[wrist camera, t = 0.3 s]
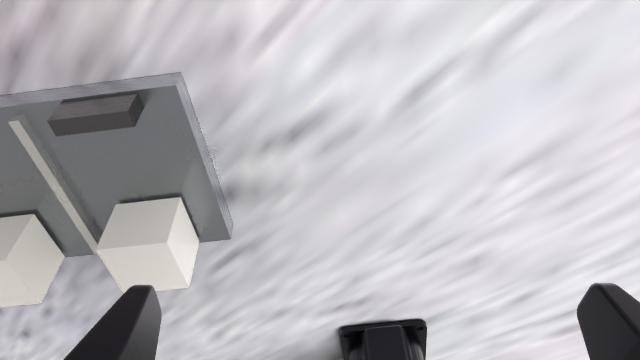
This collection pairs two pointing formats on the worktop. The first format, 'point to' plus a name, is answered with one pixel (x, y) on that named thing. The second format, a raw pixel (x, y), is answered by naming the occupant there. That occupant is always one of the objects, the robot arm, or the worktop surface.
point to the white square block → (150, 245)
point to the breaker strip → (106, 158)
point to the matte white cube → (26, 260)
